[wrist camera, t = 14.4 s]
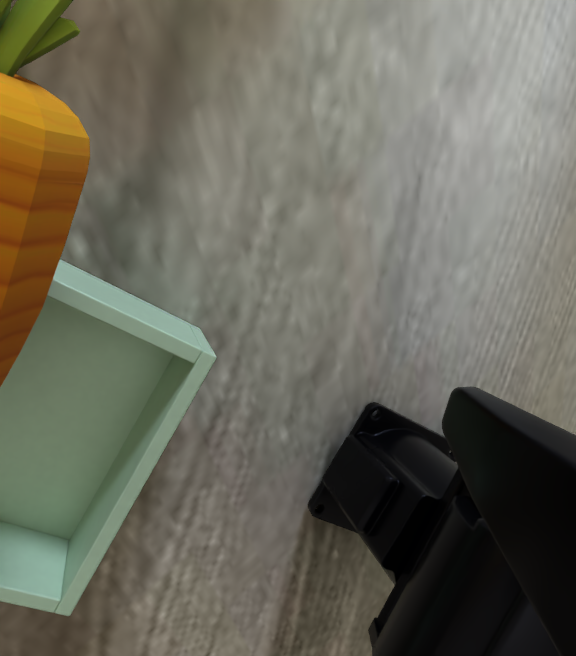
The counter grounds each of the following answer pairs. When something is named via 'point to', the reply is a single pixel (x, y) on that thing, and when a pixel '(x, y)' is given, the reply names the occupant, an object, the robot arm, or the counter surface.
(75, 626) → the counter surface
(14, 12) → the carrot
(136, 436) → the mint green tray
